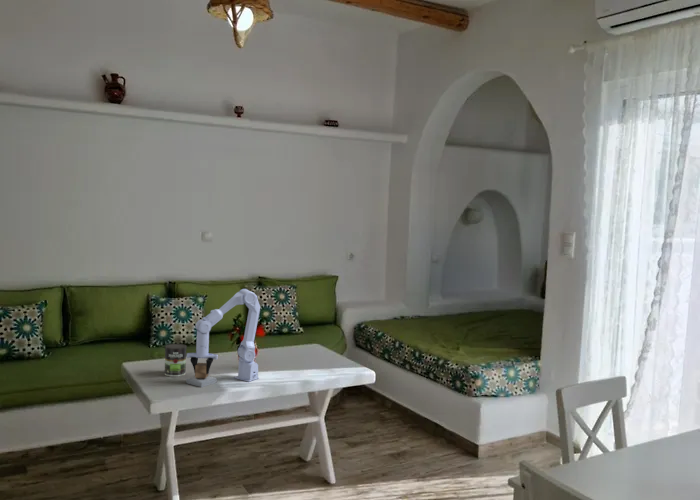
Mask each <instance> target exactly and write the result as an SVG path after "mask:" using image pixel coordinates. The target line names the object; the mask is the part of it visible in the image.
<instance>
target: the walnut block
mask: <svg viewBox="0 0 700 500" xmlns="http://www.w3.org/2000/svg"><path fill="white" fill-rule="evenodd" d="M206 369H207V364H206V362H198V363H197V364H196V365H195V372H194V374H195V375H194V376H195V378H206V377H207V376H209V373H208V374H206Z"/></svg>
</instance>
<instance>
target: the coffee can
mask: <svg viewBox="0 0 700 500" xmlns="http://www.w3.org/2000/svg"><path fill="white" fill-rule="evenodd" d="M187 347H188V346H187V345H186V344H183V343H169V344H166V345H165V346H164V349H165V351H164V376H166V377H172V378H173V377H175V378H176V377H177V378H178V377H182V376H183V377H184V376H185V375H186V368H187V367H186V366H187Z"/></svg>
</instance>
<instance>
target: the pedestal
mask: <svg viewBox="0 0 700 500" xmlns="http://www.w3.org/2000/svg"><path fill="white" fill-rule="evenodd" d="M217 381H218V379H217V377H215V376H210V375H208V376H207V377H206V378H195V375H194V376H192V377H188V378H186V380H185V383H186V384H188V385H193V386H195V387H200V388H203V387H207V386H209V385H213V384H215V383H217Z"/></svg>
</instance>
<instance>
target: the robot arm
mask: <svg viewBox="0 0 700 500" xmlns="http://www.w3.org/2000/svg"><path fill="white" fill-rule="evenodd" d="M258 297H259V296H257V294H256V293H255V292H253V291H250V290H249V289H248V288H242V289H240V290H239V291H237V292H236V293H235V294H234V295H233V296H232V297H231V298H230V299H228V300H227V301H226V302H225V303H223V305H221V306H220V307H219V309H218V308H215V309H211V310H210V313H208V314H207V315H206V316H203V317H202V319H198V320H197V321H196V323H195V329H196V343H195V345H196V348H195V350H196V351H195V352H186V359H189V358H190V359H189V360H190V363H191V365H192V368H193V371H194V373H195V365H196V364H198V363H199V362H198V360H199V359H206V360H205V361H206V362H205V363H206V364H207V369H206V374H208V375H209V373H210V369H211V366H212V363H213V362H214V360H218V359H219V358H218V357H219V355H218V354H215V353H209V350H210V348H209V346H210V344H209V343H210V332H211V330H212V327H214V326H215V325H216V324H217V323H218V322H220V321H221V320H222V319H223V318H224V317H223V316H224V315H225V314H226V313H228V312H229V311H230V310H232V309H233V308H234V307H236V306H238V305H245V306H246V307H247V309H248V313H247V318H246V319H247V320H246V324H245V329H244V334H243V339H242V341H241V342H240V344H239V347H238V349H237V351H236V352H237V356H238V357H239V358H238V367H237V368H238V370H237V371H238V372H237V373H238V374H237V376H234V377H233V378H234V379H237V380H241V381H243V382H244V381H245V382H251V381H255V380H257V379H260V377H259V364H258V363H257V362H255V361H254V360H255V358H256V352H255V350H256V346H255V337H256V333H257V328H258V327H257V326H258V322H259V318H260V313H261V305H260V302H259V300H258Z"/></svg>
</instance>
